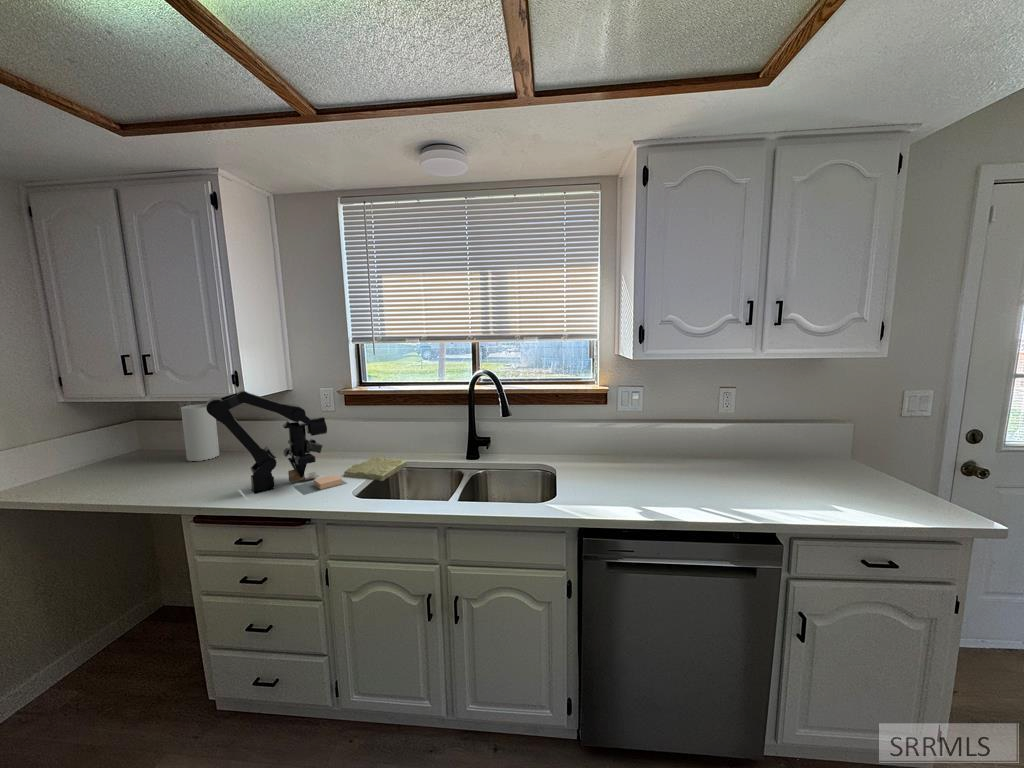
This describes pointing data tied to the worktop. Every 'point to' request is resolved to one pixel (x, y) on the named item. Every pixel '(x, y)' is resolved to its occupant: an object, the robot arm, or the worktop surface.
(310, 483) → the slate mat
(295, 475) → the grey-capped brown block
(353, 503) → the worktop surface
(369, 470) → the decorative tile
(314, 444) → the robot arm
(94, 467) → the worktop surface
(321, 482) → the terracotta tile
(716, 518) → the worktop surface
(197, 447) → the cylinder vase
